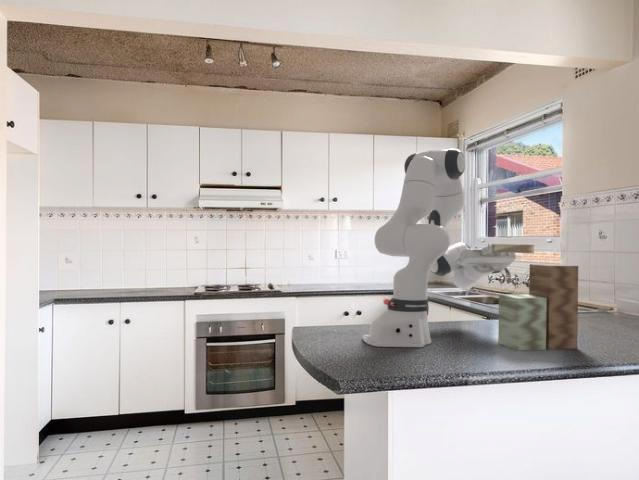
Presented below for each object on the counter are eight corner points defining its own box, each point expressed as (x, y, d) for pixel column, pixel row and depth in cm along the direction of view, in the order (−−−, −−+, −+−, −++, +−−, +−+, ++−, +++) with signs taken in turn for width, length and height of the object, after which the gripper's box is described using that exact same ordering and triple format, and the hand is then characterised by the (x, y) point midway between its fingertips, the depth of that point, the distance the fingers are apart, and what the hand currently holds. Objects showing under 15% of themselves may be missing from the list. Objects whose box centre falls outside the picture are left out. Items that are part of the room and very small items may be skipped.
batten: (526, 253, 141) (526, 244, 141) (488, 251, 163) (488, 244, 163) (533, 253, 142) (533, 244, 142) (494, 251, 163) (494, 244, 163)
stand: (516, 350, 139) (517, 265, 139) (498, 343, 149) (499, 264, 149) (577, 348, 143) (578, 266, 143) (555, 341, 153) (556, 264, 153)
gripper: (451, 256, 171) (467, 238, 159) (501, 257, 174) (520, 239, 163) (455, 272, 168) (472, 254, 156) (505, 272, 171) (525, 254, 159)
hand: (497, 246), depth 159 cm, fingers closed on batten, 3 cm apart
